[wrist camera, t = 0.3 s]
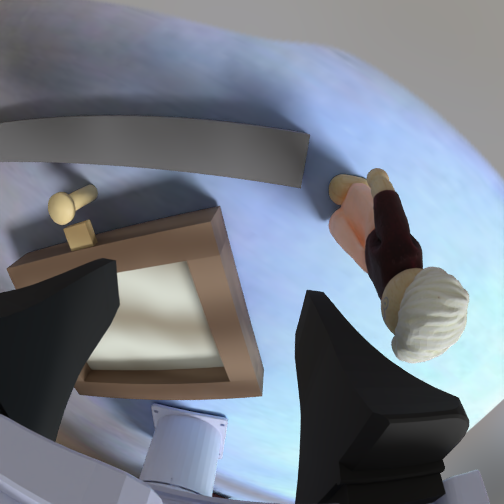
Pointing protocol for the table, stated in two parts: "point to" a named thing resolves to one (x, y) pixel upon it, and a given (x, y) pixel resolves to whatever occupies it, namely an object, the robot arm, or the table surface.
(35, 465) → the robot arm
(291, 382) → the table surface
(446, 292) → the grandmother figurine
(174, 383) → the picture frame
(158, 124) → the picture rail
